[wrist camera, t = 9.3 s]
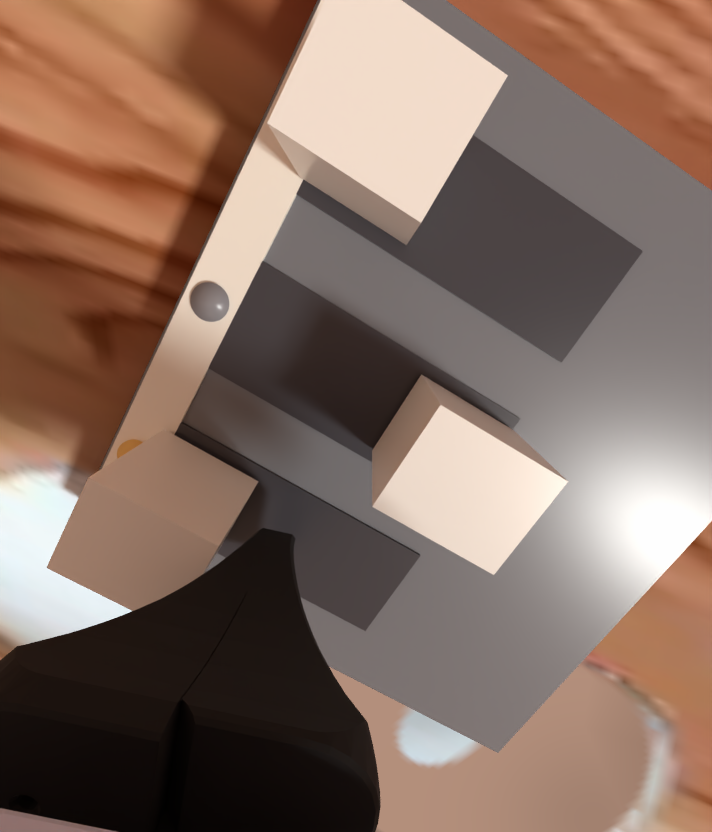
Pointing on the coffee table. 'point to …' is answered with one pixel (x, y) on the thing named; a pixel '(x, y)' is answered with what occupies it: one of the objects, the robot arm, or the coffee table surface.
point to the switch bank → (458, 387)
